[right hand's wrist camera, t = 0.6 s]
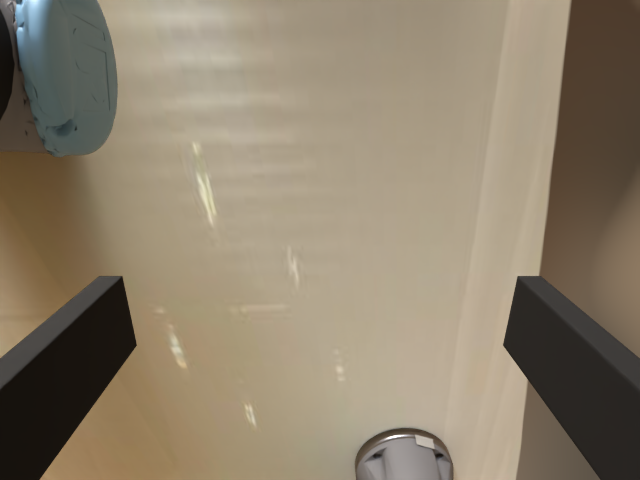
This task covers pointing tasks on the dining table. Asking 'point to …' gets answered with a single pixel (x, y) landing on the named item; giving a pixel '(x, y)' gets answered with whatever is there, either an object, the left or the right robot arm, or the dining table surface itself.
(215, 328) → the dining table surface
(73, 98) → the left robot arm
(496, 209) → the dining table surface
